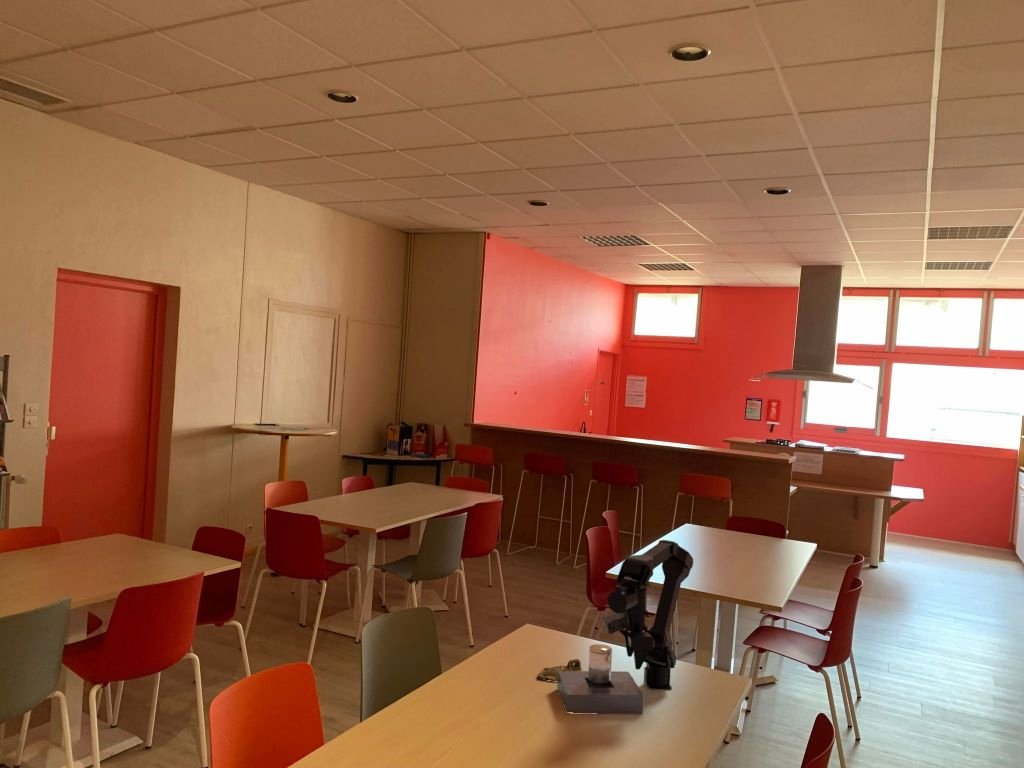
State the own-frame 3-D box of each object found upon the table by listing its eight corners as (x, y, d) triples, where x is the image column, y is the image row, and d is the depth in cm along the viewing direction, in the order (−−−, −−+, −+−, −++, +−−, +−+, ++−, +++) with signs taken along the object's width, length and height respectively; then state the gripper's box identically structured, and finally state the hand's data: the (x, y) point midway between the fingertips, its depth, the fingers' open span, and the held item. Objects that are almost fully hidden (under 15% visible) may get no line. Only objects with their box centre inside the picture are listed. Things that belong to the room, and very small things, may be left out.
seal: (547, 690, 212) (589, 680, 220) (549, 674, 211) (591, 665, 219) (529, 675, 220) (571, 666, 228) (531, 659, 219) (572, 651, 227)
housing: (627, 689, 211) (628, 671, 211) (642, 714, 195) (643, 694, 195) (557, 689, 209) (557, 671, 209) (566, 714, 193) (567, 694, 193)
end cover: (607, 674, 206) (609, 644, 206) (612, 683, 200) (614, 652, 200) (586, 674, 205) (587, 644, 205) (590, 683, 199) (591, 652, 199)
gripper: (599, 594, 212) (597, 650, 212) (613, 615, 193) (611, 676, 193) (638, 595, 213) (636, 650, 213) (656, 616, 194) (653, 676, 194)
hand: (633, 662), depth 203 cm, fingers open, 9 cm apart
